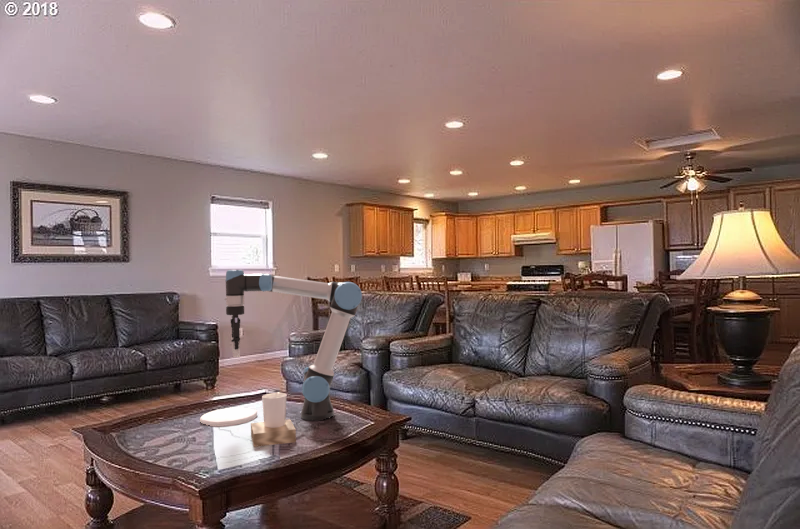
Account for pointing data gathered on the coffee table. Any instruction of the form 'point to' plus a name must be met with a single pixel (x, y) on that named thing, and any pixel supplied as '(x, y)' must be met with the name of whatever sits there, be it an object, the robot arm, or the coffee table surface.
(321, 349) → the robot arm
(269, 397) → the candle holder
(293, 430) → the maple riser
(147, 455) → the coffee table surface
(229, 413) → the decorative plate
